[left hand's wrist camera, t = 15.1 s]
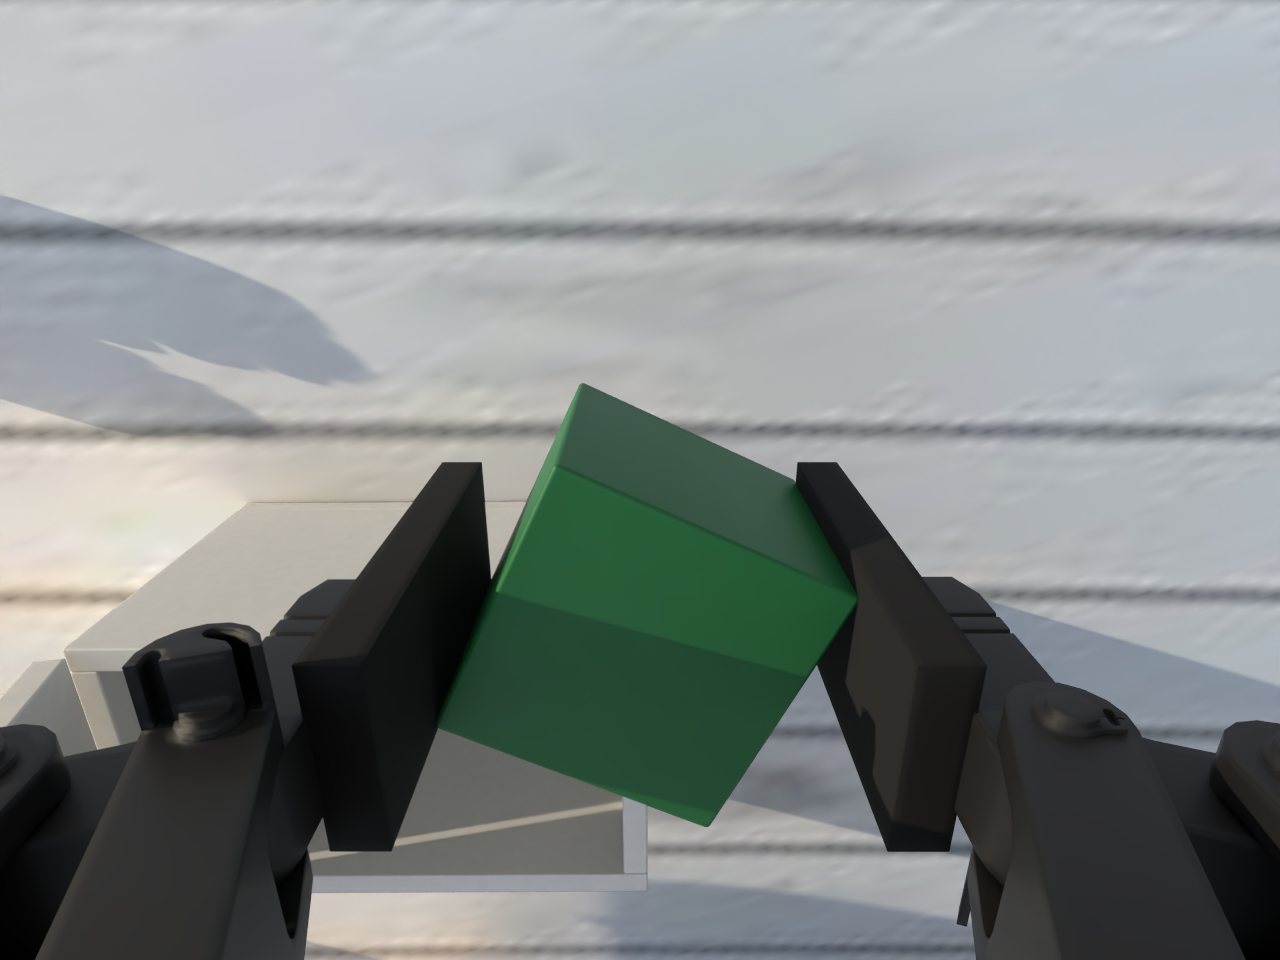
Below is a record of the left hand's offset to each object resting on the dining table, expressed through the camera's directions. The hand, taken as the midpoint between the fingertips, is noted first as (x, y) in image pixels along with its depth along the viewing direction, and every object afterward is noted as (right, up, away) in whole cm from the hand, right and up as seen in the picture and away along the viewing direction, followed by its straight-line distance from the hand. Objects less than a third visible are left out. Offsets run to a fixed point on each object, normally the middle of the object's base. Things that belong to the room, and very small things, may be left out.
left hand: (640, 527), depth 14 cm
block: (0, 0, 0) cm, 0 cm away
